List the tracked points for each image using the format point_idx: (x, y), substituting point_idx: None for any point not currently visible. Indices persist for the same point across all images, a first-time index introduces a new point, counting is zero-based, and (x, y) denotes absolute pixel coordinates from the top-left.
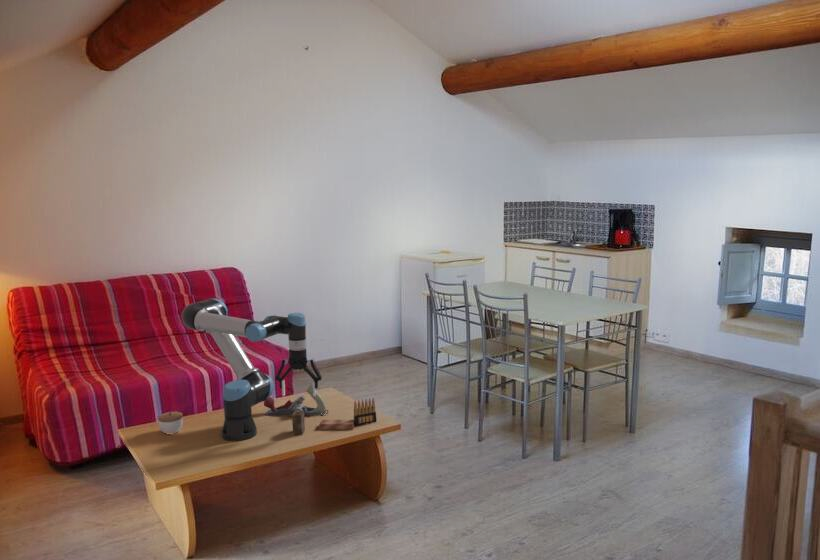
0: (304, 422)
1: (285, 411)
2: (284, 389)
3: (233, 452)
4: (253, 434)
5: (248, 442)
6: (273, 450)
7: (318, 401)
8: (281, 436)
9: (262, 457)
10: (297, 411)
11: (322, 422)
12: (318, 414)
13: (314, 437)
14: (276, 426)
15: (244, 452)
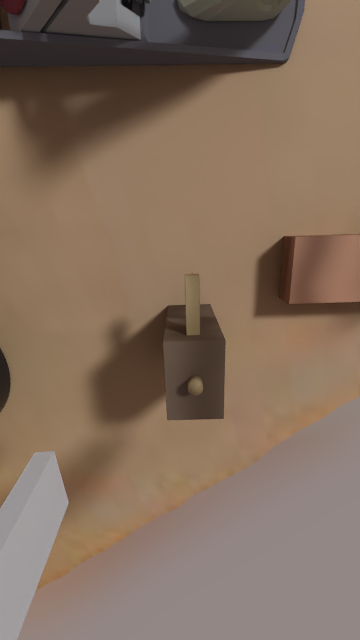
0: (214, 316)
1: (17, 49)
2: (27, 542)
3: None
4: (4, 395)
5: (20, 438)
6: (142, 493)
7: None
8: (126, 380)
9: (126, 536)
10: (194, 394)
11: (303, 280)
12: (246, 58)
13: (268, 385)
14: (55, 263)
15: None
